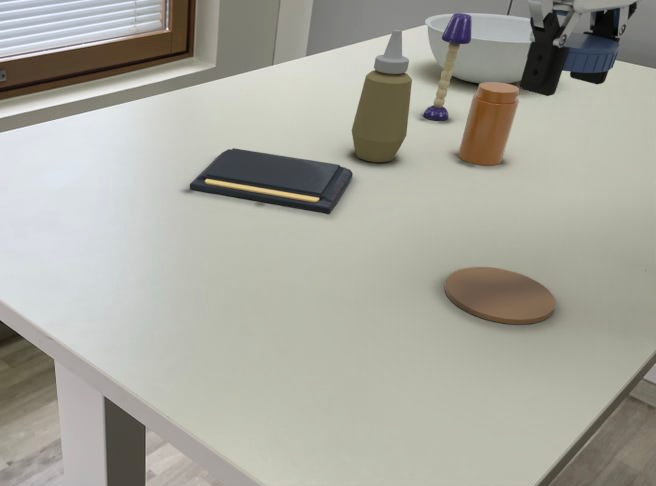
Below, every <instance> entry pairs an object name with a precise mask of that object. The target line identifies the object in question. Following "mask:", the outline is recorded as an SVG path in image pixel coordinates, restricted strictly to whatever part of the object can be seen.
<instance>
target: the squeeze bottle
mask: <svg viewBox="0 0 656 486" xmlns="http://www.w3.org/2000/svg"><path fill="white" fill-rule="evenodd" d="M409 63H410V59H409V58H408V57H406V56H403V31H402V30H401V29H393V30H392V33H391V34H390V38H389V40H388V42H387V45H386V48H385V51H384V53H383V54H379V55H377V56H376V57H375V59H374V66H373V70H371V71H370V72H368V73H367V74H366V75H365V78H364V82H363V86H362V88H361V89H362V90H361V93H360V97H359V101H358V105H357V108H356V112H355V115H354V119H353V123H352V127H351V135H352V143H353V148H354V154H355V156H356V157H357V158H359V159H361V160H364V161H366V162H372V163H386V162H390V161H393V160H394V159H395V157H396V155H397V153H398V152H399V150H400V148H401V146H402V145H403V143H404V141H405V140H406V137H407V133H408V123H409V114H410V113H409V112H410V105H411V104H410V103H411V95H412V85H413V78H412V77H411V76H410V75H409V74H408V73H406V72H408V69H409Z"/></svg>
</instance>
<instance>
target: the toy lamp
mask: <svg viewBox="0 0 656 486" xmlns="http://www.w3.org/2000/svg"><path fill="white" fill-rule="evenodd" d="M461 13H462V12H460V13H459V12H457V13H456V14H454V13H453V14H454V15H453V16H452V18H451V19H450V21H449V23H448V25H447V27H446V29H445V31H444V33H443V35H442V40H443V41H446V42H449V46H448V50H449V51H448V52H447V54H446V61H445V62H444V66H443V68H444V69H443V68H442V71H441V72H440V79H439V82H438V88H437V90H436V93H435V98H434V100H433V105H430V106H428V107H426V109H425V110H424V112H423V117H424V118H426V119H428V120H433V121H447V120H448V119H449V111H448V110H447V108H445V107H444V105H445V102H446V100H445V98H447V95H448V89H449V87H450V84H451V82H450V80H451V79H452V77H453V76H452V70H453V68H454V66H455V60H456V58H457V51H458V49H459V47H460V44H468V43H470V41H471V25H472V18H471V16H470V15H468V14H461Z"/></svg>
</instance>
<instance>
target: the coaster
mask: <svg viewBox="0 0 656 486" xmlns="http://www.w3.org/2000/svg"><path fill="white" fill-rule="evenodd" d="M444 291H445V294H446V297H448V299H449V301H451V302H452V303H453V304H454V305H456V306H457V307H458V308H460V309H461V310H462V311H465V312H466V313H469V314H470V315H473V316H475V317H478V318H481V319H484V320H488V321H491V322H495V323H502V324H507V325H528V324H529V325H530V324H536V323H539V322H543V321H545V320H546V319H548V318H549V317H551V315H552V314H553V313H554V310H555V307H556V299H555V297H554V295H553V294H552V292H551V291H550V290H549V289H548V288H547V287H546V286H544V285H543V284H541V283H540V282H538V281H537V280H535V279H533V278H531V277H529V276H527V275H524V274H521V273H519V272H516V271H512V270H507V269H503V268H497V267H490V266H472V267H471V266H470V267H465V268H460V269H458V270H455V271H454V272H452V273H451V274H449V276H448V277H447V278H446V280H445V283H444Z"/></svg>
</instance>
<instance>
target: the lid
mask: <svg viewBox="0 0 656 486" xmlns="http://www.w3.org/2000/svg"><path fill="white" fill-rule="evenodd" d="M531 44H532V42H531ZM531 44H530V47H531ZM564 46H565V47H569V51H568V54H567V57H566V60H565V63H564V67H563V70H562V72H569V73H570V72H582V73H597V72H605V71H608V70H609V71H610V70H612V69H613V68H614V66H615V62H616V60H617V57H618V54H619V48H620V43H617V42H615V41H613V40H610V39H607V38H603V37H599V36H594V35H588V34H583V33H581V32H572V33H571V35H570V37H569V38H568V40H567V42H566V44H565V45H564ZM530 47H529V51H530ZM529 51H528V54H529ZM528 54H527V58H528ZM609 71H608V72H609Z"/></svg>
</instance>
